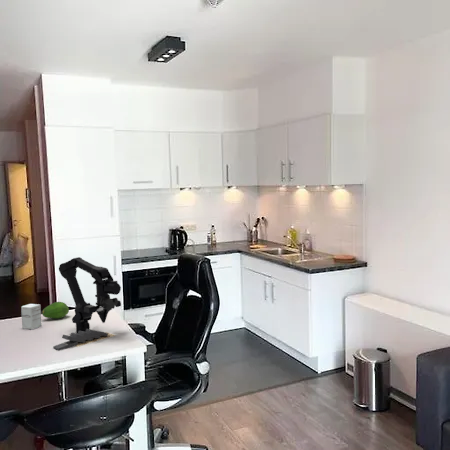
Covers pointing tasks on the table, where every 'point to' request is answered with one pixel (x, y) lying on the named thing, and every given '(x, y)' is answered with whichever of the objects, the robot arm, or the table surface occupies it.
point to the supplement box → (31, 316)
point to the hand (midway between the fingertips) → (103, 322)
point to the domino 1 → (65, 345)
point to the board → (95, 339)
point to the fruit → (55, 310)
